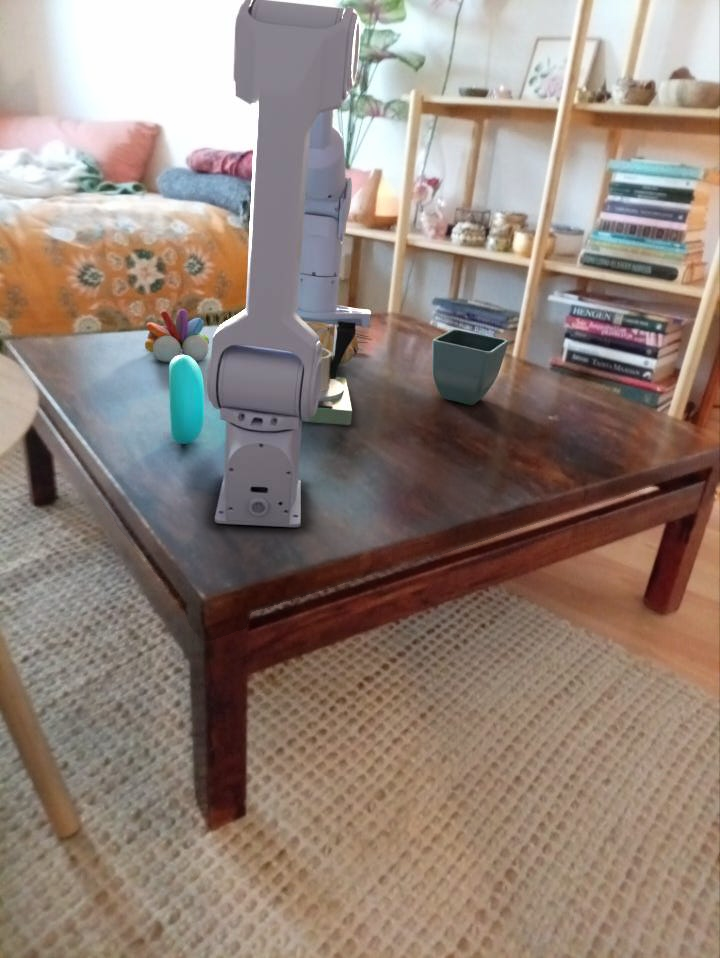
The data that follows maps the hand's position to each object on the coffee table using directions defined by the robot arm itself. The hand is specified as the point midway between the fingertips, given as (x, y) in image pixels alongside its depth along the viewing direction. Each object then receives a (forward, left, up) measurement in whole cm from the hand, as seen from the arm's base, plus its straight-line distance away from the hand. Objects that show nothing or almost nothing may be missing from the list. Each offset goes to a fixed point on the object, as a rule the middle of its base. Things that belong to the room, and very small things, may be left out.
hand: (309, 375), depth 95 cm
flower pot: (+6, -23, -4) cm, 24 cm away
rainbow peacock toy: (+16, +20, -4) cm, 26 cm away
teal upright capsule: (-15, +11, -4) cm, 19 cm away
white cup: (0, 0, -1) cm, 1 cm away
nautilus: (+19, -4, -4) cm, 20 cm away
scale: (-1, 0, -4) cm, 4 cm away
